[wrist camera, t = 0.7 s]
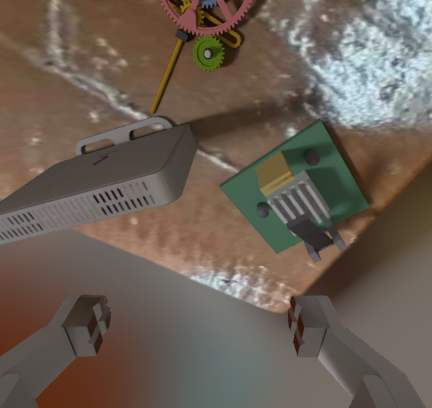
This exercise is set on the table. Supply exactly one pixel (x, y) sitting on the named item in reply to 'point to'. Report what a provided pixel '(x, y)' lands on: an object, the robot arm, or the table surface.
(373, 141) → the table surface
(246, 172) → the board
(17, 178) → the table surface
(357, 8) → the table surface
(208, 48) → the mechanical gear assembly
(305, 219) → the strap
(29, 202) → the network device
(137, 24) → the table surface
